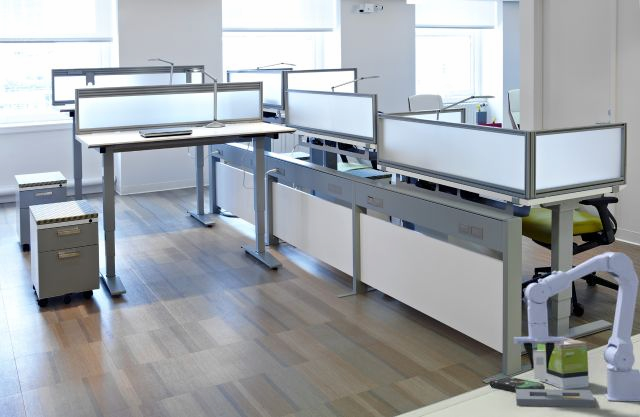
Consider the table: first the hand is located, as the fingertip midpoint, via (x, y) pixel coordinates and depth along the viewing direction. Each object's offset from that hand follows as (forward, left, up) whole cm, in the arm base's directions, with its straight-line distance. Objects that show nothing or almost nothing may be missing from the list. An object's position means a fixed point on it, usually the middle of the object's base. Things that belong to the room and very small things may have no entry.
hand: (539, 368), depth 233 cm
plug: (0, 0, -3) cm, 3 cm away
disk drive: (+7, -17, -11) cm, 21 cm away
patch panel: (-4, 0, -10) cm, 10 cm away
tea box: (-8, -26, -10) cm, 29 cm away
